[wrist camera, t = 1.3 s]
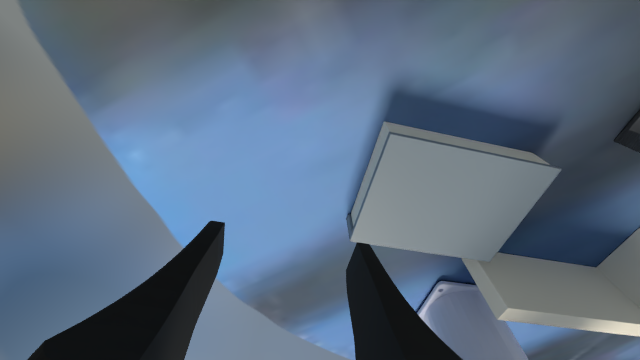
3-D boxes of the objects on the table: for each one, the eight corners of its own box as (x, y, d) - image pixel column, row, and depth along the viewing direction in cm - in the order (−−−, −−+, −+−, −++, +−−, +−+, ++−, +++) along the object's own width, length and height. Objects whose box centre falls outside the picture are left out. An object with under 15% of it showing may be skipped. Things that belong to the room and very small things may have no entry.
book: (471, 236, 26) (489, 262, 23) (345, 216, 24) (349, 241, 21) (531, 149, 21) (562, 169, 18) (380, 117, 19) (390, 134, 17)
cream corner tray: (597, 279, 28) (659, 338, 23) (461, 259, 26) (497, 319, 21) (738, 154, 21) (873, 202, 16) (563, 113, 19) (655, 153, 14)
